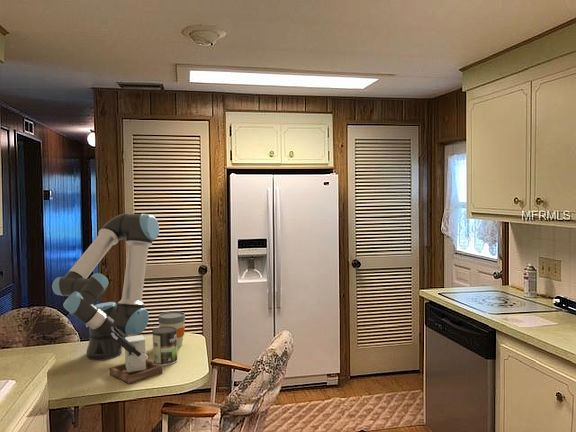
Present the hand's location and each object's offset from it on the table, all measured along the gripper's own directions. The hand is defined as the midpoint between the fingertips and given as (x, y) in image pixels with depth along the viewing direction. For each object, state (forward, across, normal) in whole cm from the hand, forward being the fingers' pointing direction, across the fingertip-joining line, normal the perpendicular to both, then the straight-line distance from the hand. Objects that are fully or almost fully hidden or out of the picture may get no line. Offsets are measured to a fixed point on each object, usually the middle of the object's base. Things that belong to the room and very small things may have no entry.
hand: (144, 356), depth 202 cm
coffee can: (+12, -9, +2) cm, 15 cm away
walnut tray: (+3, 0, -7) cm, 8 cm away
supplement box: (+1, 0, -6) cm, 6 cm away
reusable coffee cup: (+17, -28, +7) cm, 34 cm away
